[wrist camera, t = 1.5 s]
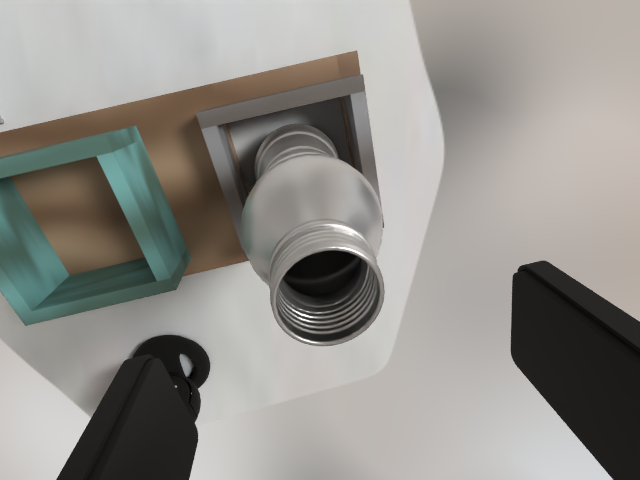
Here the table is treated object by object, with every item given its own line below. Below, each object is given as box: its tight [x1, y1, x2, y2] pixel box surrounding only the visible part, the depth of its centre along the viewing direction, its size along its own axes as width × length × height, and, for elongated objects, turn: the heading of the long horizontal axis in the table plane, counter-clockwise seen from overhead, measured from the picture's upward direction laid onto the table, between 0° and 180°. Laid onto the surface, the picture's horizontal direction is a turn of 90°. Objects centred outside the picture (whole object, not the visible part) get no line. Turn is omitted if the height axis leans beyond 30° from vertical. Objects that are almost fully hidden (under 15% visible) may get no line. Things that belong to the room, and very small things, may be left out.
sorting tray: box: [0, 51, 384, 326], centre depth 26 cm, size 14×28×6 cm, turn 102°
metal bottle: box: [240, 124, 384, 346], centre depth 20 cm, size 6×7×20 cm
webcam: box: [133, 335, 210, 423], centre depth 31 cm, size 8×8×10 cm
